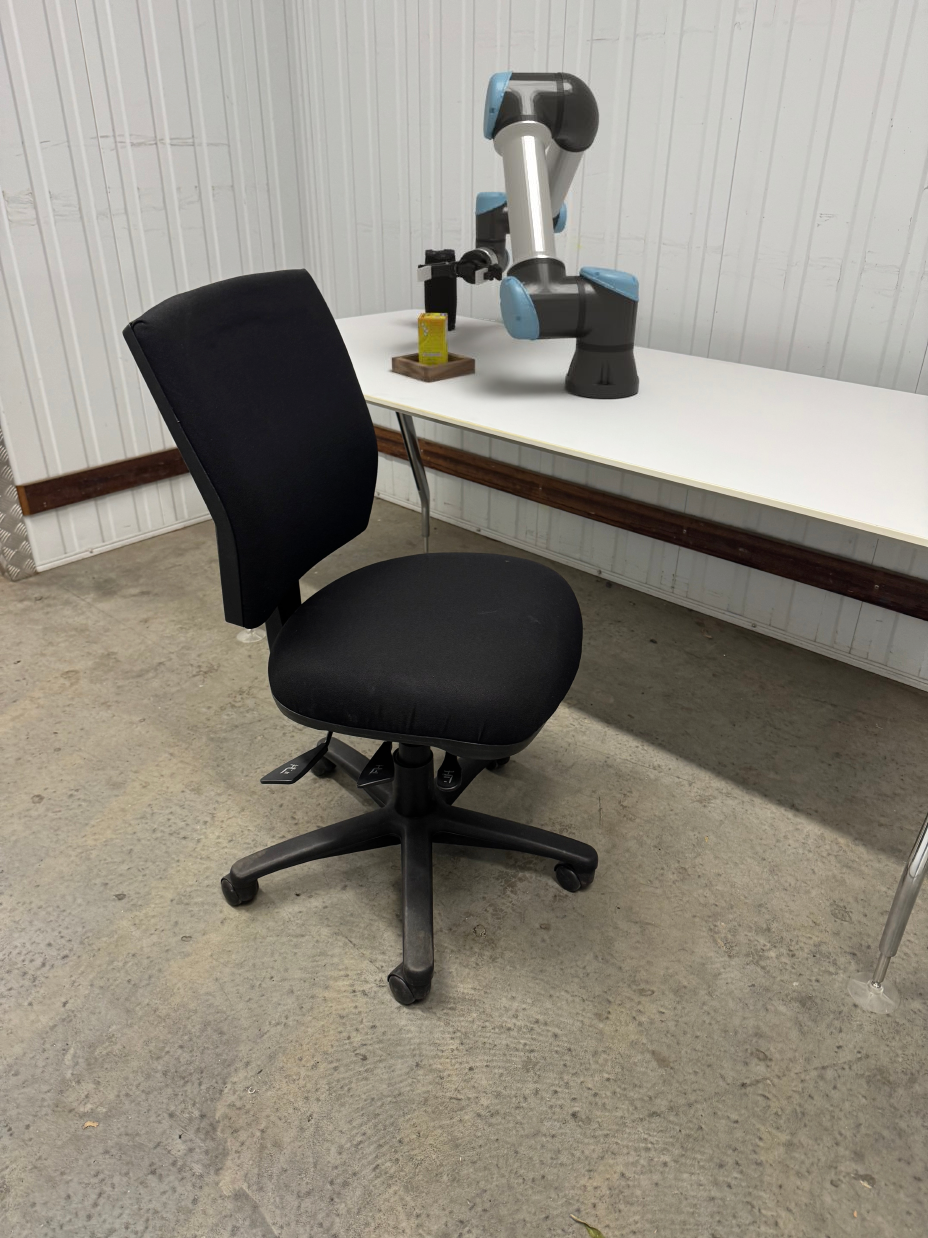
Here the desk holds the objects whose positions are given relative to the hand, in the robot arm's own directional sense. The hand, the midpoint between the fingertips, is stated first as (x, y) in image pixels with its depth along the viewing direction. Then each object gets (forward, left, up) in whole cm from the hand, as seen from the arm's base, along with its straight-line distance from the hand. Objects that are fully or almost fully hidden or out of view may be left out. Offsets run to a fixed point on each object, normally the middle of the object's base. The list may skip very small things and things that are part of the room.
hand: (447, 276), depth 196 cm
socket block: (-5, +9, -18) cm, 21 cm away
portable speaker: (+31, -23, -19) cm, 43 cm away
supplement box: (-5, +9, -18) cm, 20 cm away
